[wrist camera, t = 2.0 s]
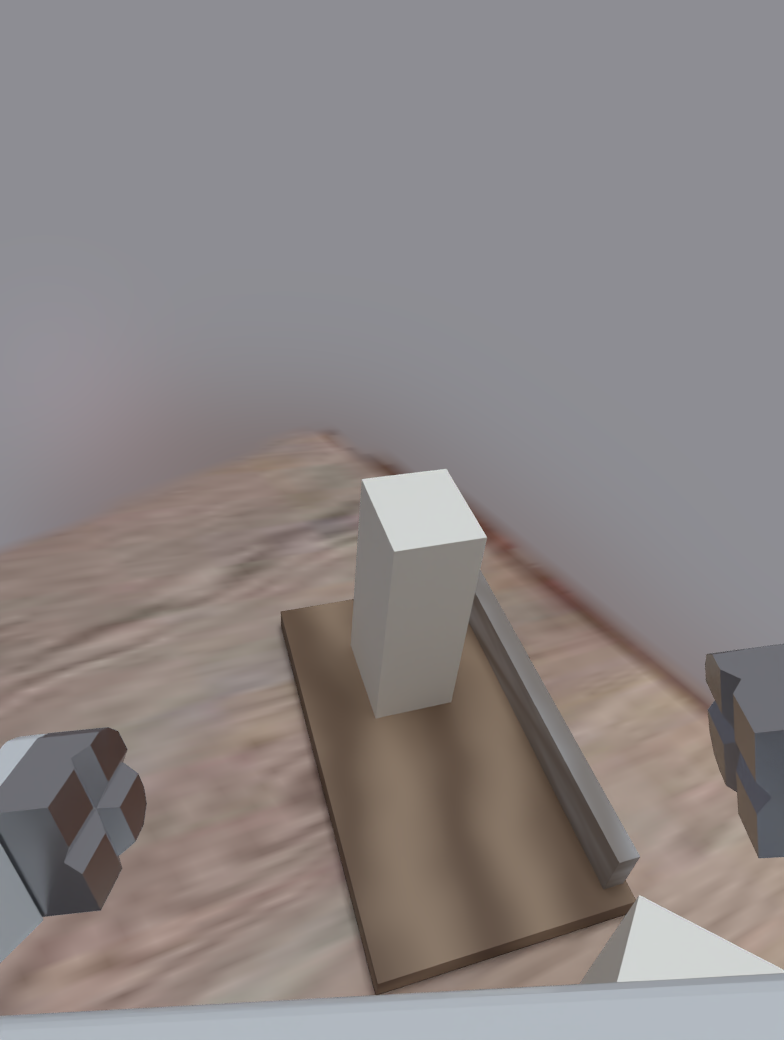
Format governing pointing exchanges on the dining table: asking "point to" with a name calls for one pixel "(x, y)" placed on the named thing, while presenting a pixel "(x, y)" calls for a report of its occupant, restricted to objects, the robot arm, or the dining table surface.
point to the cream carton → (669, 950)
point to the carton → (413, 588)
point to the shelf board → (457, 803)
